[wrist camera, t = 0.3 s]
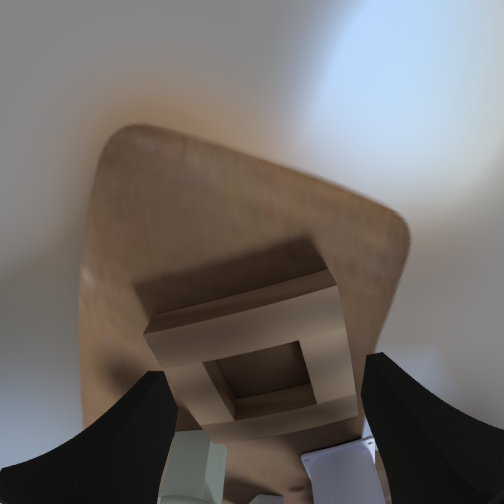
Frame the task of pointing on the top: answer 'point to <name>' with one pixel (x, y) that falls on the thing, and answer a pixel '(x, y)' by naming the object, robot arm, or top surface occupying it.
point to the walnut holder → (252, 339)
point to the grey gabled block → (267, 499)
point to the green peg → (194, 470)
